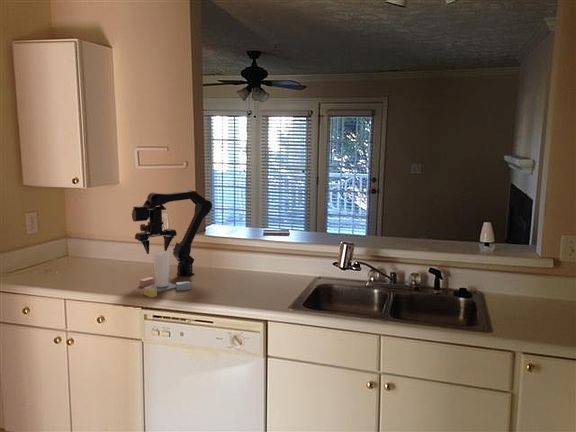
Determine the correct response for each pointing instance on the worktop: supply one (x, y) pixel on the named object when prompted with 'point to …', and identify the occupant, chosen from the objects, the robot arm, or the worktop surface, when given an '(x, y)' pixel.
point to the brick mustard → (150, 291)
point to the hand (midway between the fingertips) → (156, 252)
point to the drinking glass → (162, 268)
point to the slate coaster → (161, 289)
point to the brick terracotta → (147, 281)
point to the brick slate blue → (183, 285)
